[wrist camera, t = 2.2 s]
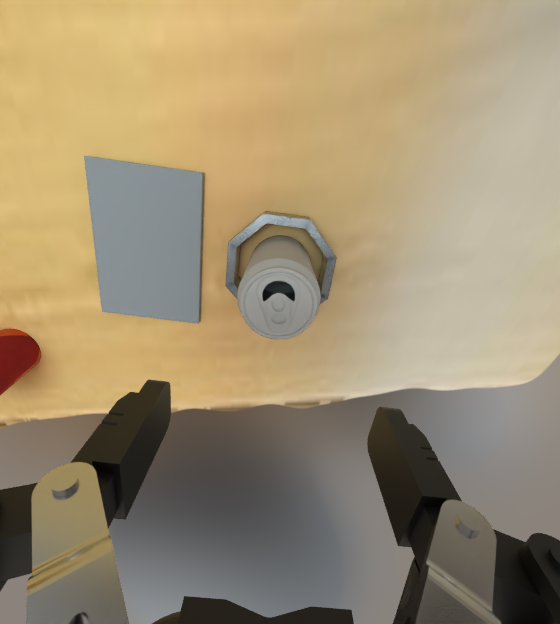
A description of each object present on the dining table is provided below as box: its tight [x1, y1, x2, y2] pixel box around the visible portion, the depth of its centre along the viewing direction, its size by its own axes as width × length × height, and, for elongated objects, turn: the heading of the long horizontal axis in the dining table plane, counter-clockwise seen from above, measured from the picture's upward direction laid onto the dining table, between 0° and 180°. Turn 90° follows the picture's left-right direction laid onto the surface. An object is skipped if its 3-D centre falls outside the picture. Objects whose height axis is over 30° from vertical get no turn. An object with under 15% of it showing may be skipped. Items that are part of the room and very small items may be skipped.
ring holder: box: [226, 211, 336, 304], centre depth 31 cm, size 11×11×3 cm
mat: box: [84, 156, 204, 324], centre depth 32 cm, size 11×16×1 cm
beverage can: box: [237, 236, 321, 339], centre depth 27 cm, size 6×6×12 cm
